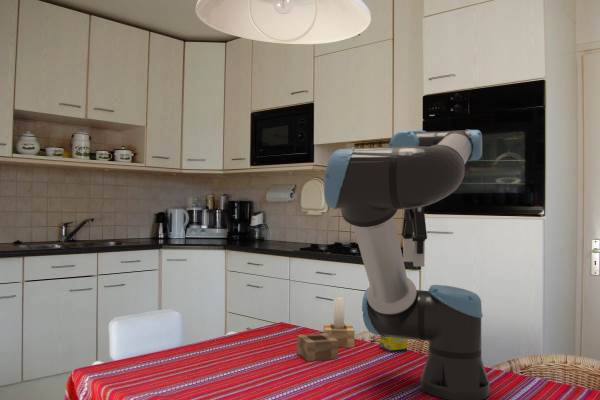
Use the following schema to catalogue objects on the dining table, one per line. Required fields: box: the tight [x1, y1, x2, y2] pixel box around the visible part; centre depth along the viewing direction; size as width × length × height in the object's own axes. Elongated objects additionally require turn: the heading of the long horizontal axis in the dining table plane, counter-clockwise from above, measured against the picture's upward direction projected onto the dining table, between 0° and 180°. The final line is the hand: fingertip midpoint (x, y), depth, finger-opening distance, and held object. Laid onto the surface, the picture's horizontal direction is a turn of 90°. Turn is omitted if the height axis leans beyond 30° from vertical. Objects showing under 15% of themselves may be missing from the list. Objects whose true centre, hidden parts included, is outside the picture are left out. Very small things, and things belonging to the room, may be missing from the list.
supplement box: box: [379, 335, 408, 354], centre depth 151 cm, size 6×6×11 cm
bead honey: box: [322, 323, 355, 348], centre depth 157 cm, size 9×9×5 cm
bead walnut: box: [296, 332, 339, 362], centre depth 143 cm, size 9×9×5 cm
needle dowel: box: [333, 296, 345, 329], centre depth 157 cm, size 3×3×14 cm
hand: (413, 263), depth 139 cm, fingers open, 13 cm apart
